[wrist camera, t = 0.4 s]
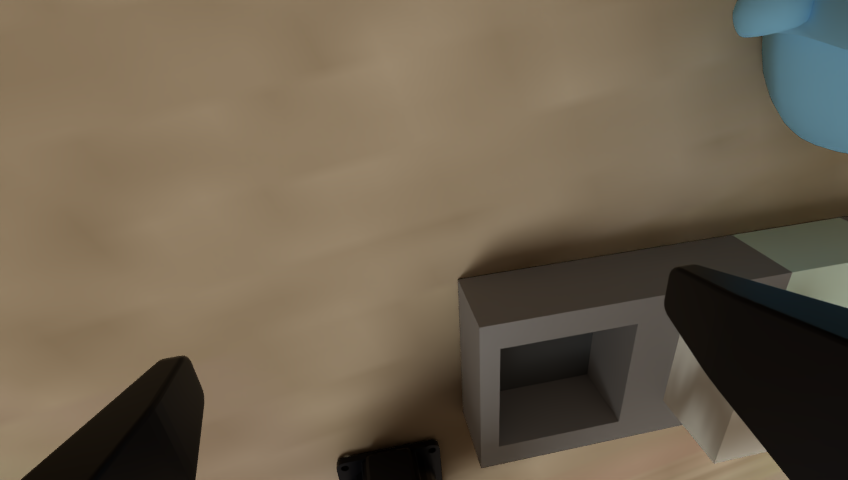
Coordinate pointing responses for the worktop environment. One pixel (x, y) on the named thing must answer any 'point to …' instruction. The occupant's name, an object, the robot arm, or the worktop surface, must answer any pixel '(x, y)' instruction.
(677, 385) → the cream block
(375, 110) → the worktop surface
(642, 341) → the trap deck
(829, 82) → the decorative pot
